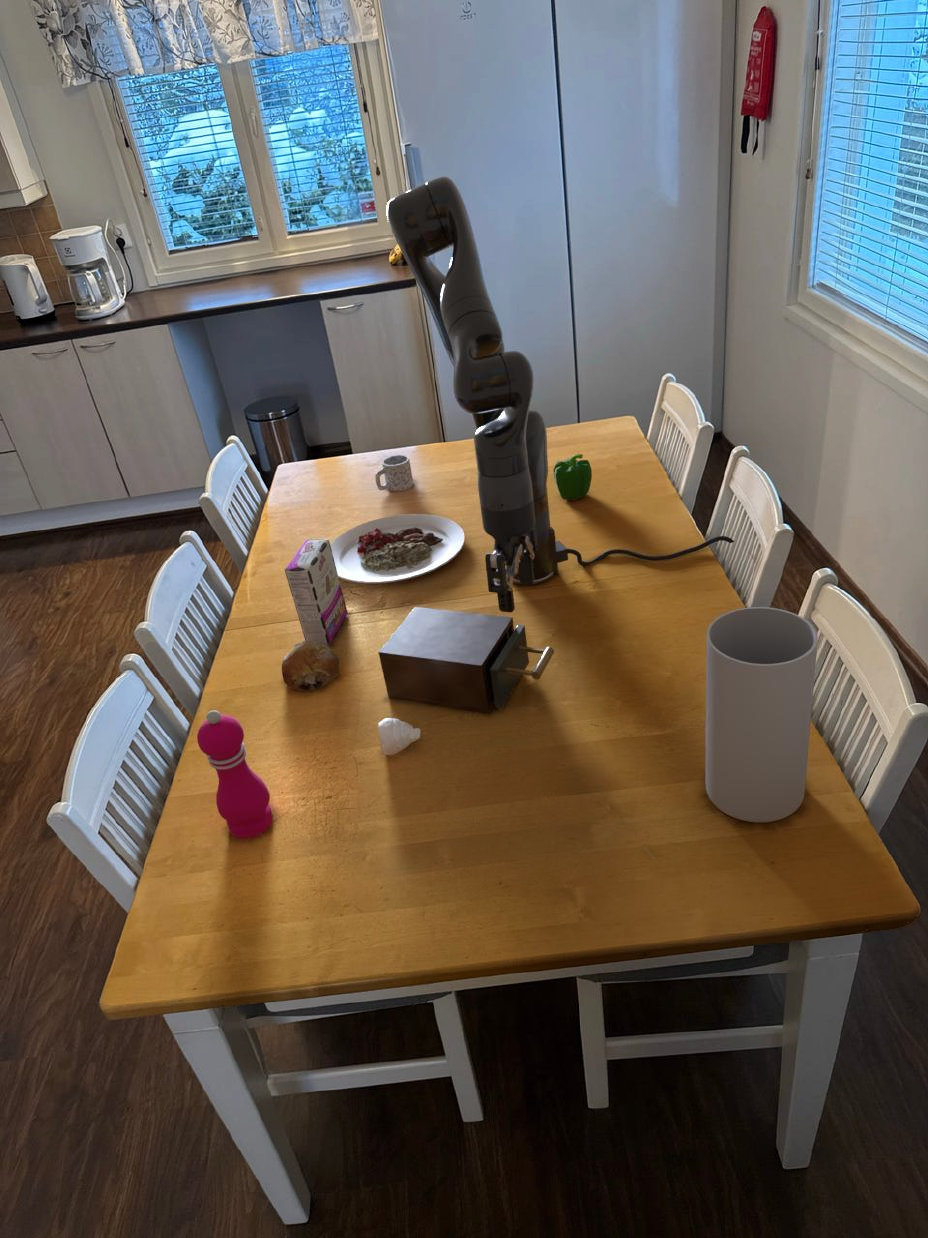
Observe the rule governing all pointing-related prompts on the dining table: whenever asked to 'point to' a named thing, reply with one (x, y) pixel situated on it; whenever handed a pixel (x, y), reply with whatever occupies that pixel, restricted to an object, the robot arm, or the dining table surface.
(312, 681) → the bread roll
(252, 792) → the pepper mill
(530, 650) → the drawer
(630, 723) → the dining table surface
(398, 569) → the plated food
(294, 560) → the candy bar box
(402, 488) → the mug
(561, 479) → the bell pepper
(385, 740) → the garlic bulb
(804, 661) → the cylinder vase
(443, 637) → the cabinet
